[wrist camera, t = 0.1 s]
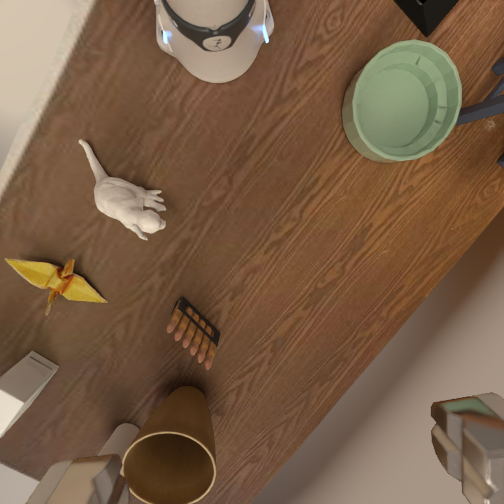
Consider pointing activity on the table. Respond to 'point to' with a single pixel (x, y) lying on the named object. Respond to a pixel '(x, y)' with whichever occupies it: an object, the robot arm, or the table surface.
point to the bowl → (402, 102)
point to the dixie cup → (120, 440)
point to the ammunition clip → (194, 331)
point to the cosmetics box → (22, 387)
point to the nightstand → (487, 103)
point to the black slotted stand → (426, 12)
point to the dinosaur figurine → (125, 199)
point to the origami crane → (56, 281)
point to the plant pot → (173, 451)
